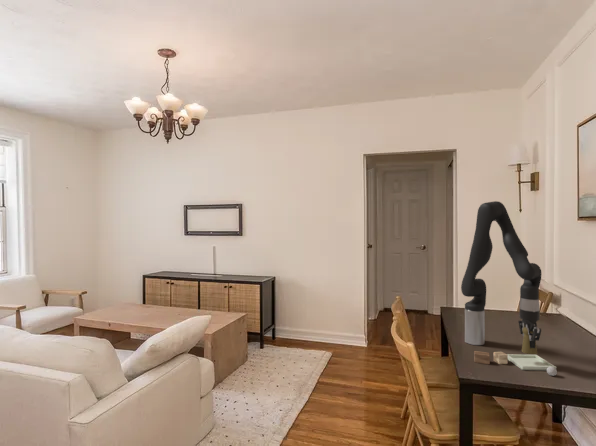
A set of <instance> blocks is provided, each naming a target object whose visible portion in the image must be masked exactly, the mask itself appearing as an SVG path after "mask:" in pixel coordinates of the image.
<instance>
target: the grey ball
mask: <svg viewBox="0 0 596 446" xmlns="http://www.w3.org/2000/svg"><path fill="white" fill-rule="evenodd" d="M546 373H547V374H548V375H549V376H553V377H555V376H556V375H557V373H558V371H557V368H556V369H555V368H554V367H548V368H547V370H546Z"/></svg>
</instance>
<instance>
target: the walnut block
mask: <svg viewBox="0 0 596 446" xmlns="http://www.w3.org/2000/svg"><path fill="white" fill-rule="evenodd" d="M490 360H491V359H490V352H485V351H477V350H473V362H474V363H477V364H485V365H490V364H491V363H490V362H491V361H490Z"/></svg>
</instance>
